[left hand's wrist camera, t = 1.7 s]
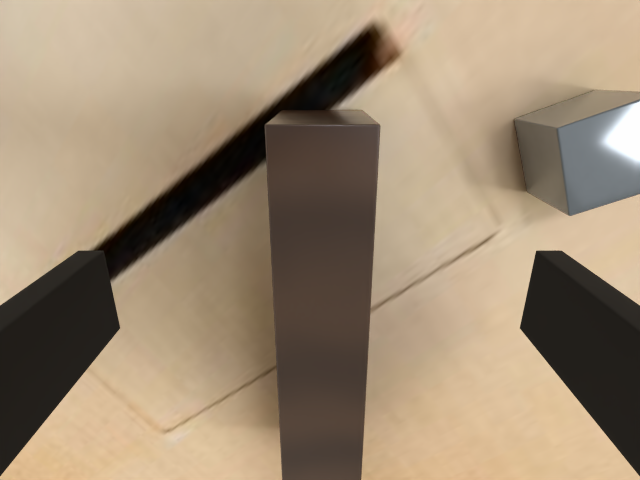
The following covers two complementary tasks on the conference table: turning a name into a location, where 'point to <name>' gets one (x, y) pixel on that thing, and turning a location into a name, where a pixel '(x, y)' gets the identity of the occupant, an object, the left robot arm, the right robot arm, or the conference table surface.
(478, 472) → the conference table surface
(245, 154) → the conference table surface
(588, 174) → the grey block
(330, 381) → the walnut bar
